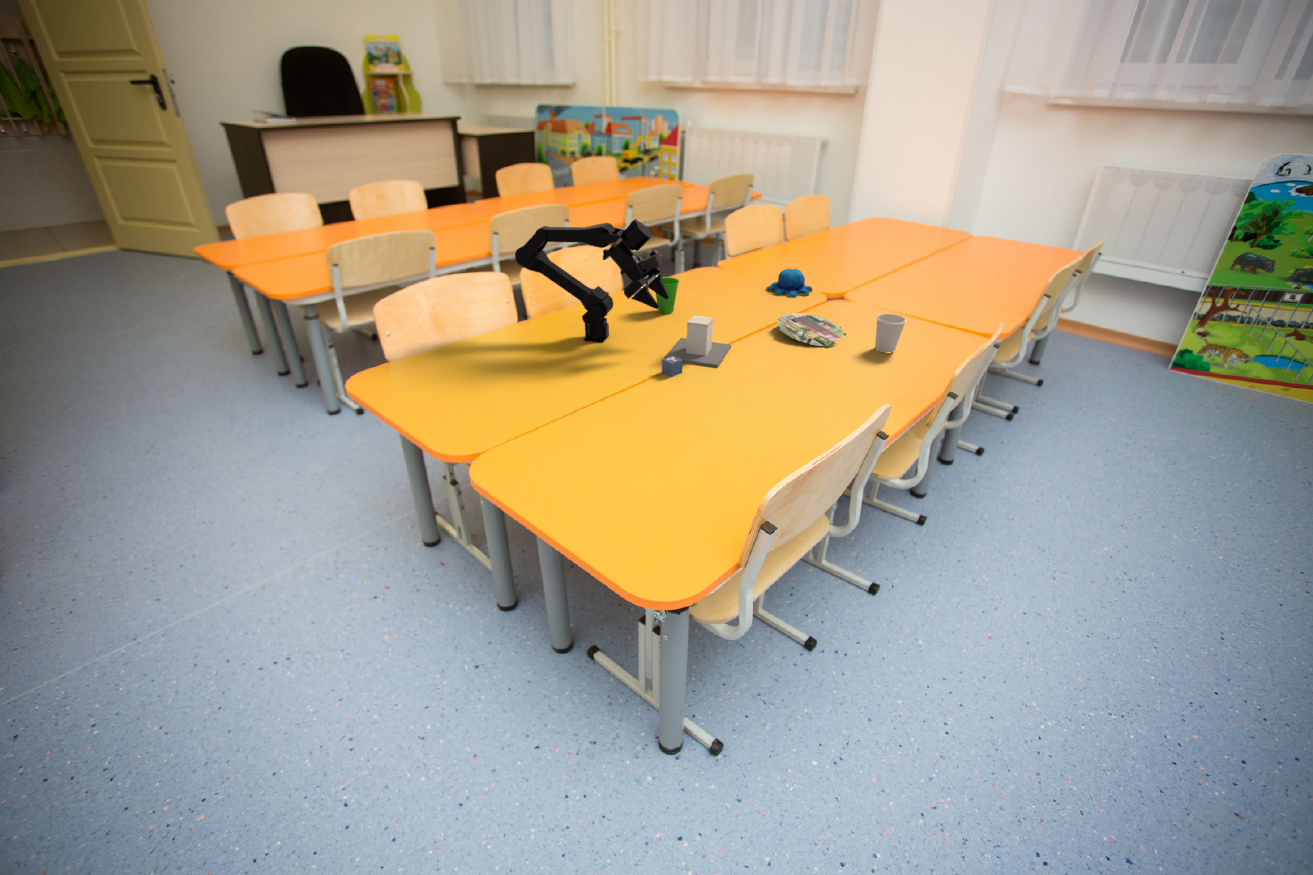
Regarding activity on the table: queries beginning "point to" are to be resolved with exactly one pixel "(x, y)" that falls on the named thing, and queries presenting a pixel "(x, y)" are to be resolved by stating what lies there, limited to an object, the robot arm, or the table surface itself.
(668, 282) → the cup
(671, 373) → the letter cube
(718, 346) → the mat
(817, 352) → the table surface
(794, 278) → the plush toy
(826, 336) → the city model
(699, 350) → the white tall block
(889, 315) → the dixie cup
